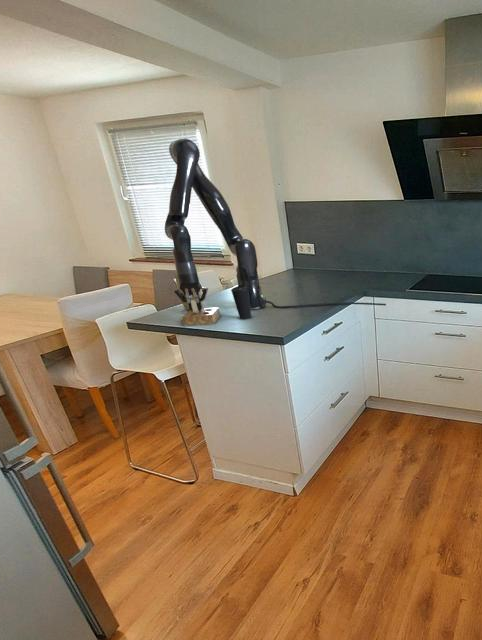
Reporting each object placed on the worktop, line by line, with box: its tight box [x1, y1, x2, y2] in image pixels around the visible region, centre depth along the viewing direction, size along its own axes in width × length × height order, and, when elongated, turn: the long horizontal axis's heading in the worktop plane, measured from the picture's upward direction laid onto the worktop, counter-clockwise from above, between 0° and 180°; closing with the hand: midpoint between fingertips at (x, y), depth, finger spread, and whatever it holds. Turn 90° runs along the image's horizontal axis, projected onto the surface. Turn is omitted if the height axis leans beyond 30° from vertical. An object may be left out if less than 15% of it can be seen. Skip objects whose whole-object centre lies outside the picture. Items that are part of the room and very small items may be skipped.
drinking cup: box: [230, 273, 252, 320], centre depth 171 cm, size 8×8×20 cm
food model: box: [174, 269, 205, 311], centre depth 183 cm, size 10×7×20 cm
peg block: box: [181, 307, 221, 327], centre depth 171 cm, size 12×12×4 cm
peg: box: [190, 299, 199, 312], centre depth 171 cm, size 2×2×9 cm
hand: (196, 310), depth 172 cm, fingers closed on peg, 2 cm apart
